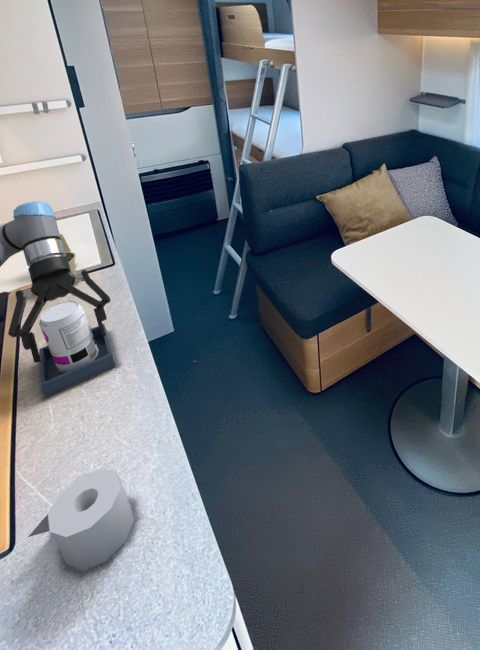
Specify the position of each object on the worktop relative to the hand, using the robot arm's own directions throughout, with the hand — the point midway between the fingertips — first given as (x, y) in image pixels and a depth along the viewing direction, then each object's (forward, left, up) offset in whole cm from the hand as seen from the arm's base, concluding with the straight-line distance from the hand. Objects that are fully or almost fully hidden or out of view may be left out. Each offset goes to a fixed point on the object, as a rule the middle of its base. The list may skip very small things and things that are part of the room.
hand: (71, 348), depth 93 cm
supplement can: (-2, +2, -6) cm, 7 cm away
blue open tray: (-2, +2, -7) cm, 7 cm away
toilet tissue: (+26, -31, -7) cm, 41 cm away
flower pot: (-30, +31, -7) cm, 44 cm away
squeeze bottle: (-37, +38, -7) cm, 54 cm away
